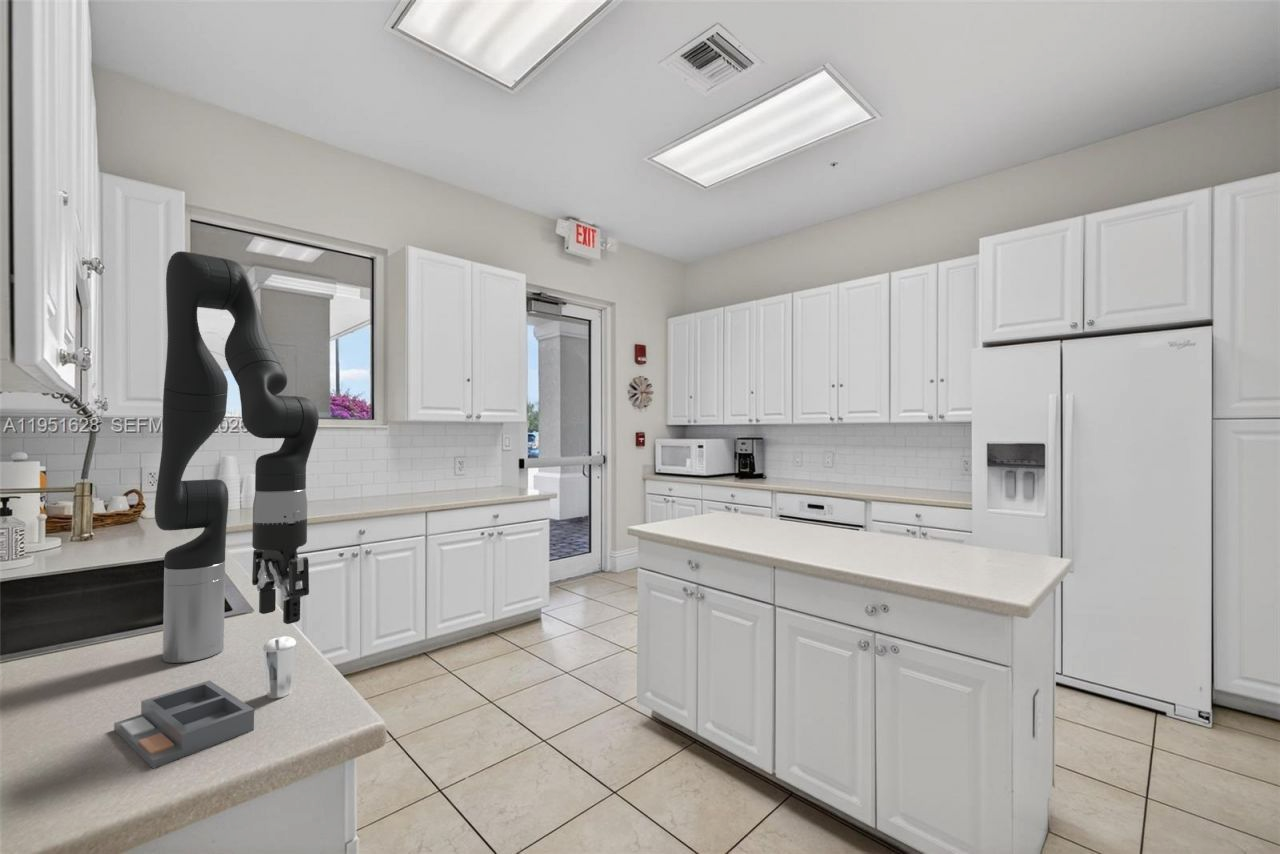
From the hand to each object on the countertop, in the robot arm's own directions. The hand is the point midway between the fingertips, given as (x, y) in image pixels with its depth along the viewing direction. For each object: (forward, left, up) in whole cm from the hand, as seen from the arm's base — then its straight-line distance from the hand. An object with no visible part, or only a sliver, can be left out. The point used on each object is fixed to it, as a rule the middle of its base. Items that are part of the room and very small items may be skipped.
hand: (279, 617), depth 93 cm
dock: (0, -13, -13) cm, 18 cm away
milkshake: (0, 0, -13) cm, 13 cm away
